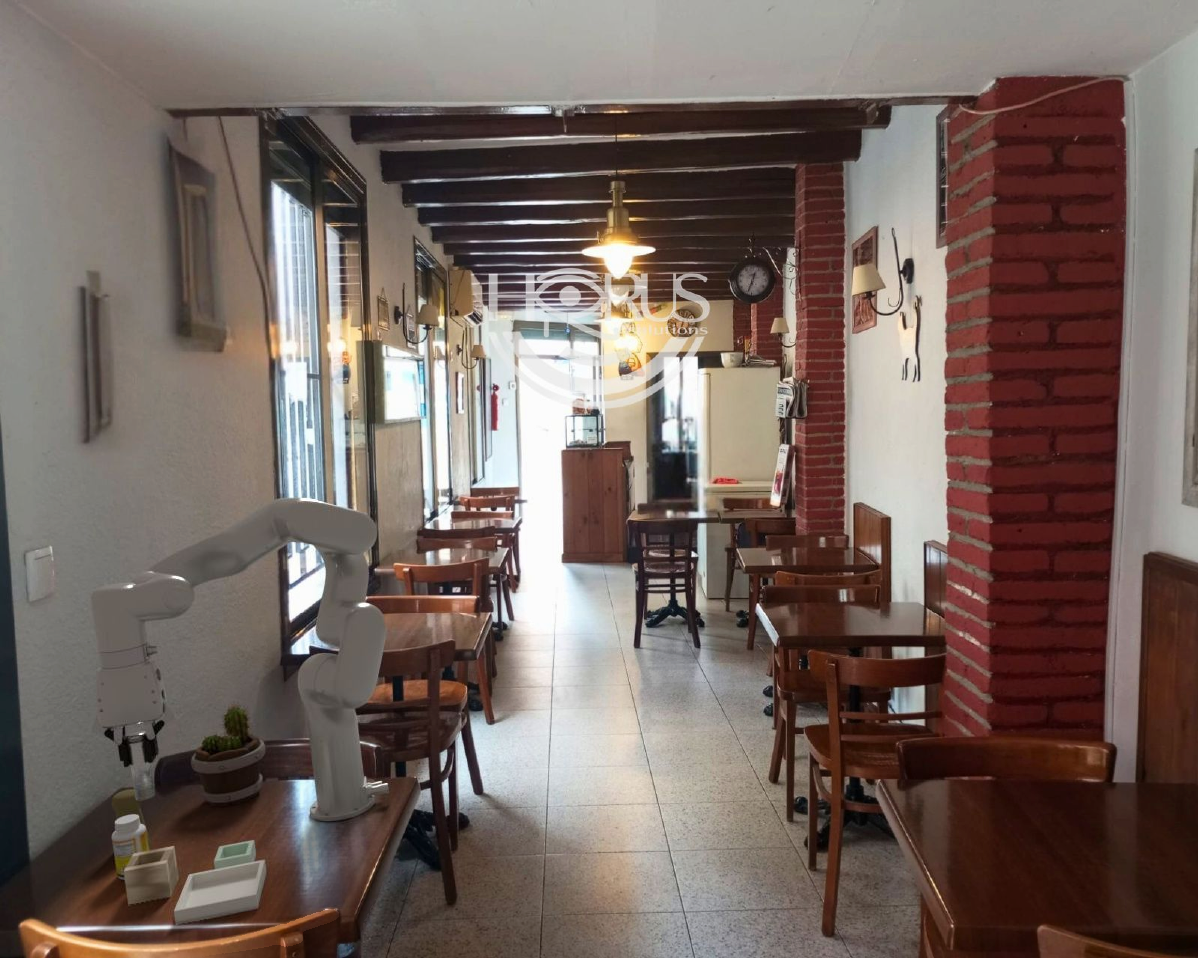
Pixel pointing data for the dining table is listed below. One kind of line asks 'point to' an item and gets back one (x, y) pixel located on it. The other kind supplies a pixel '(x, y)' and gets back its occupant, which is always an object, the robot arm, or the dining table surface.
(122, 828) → the supplement bottle
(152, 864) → the maple block
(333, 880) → the dining table surface
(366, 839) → the dining table surface
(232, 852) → the socket
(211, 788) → the flowerpot
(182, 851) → the dining table surface
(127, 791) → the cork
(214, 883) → the tray
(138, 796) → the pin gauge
